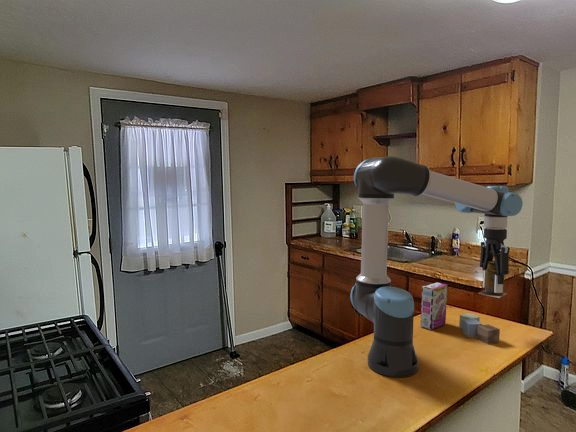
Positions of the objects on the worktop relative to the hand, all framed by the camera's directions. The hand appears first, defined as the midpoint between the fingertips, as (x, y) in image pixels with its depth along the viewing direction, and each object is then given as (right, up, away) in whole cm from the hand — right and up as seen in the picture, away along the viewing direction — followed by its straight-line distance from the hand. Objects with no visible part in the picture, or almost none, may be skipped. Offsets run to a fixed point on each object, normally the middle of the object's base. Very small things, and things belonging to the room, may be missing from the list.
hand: (492, 289), depth 144 cm
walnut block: (-4, -17, -5) cm, 19 cm away
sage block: (-5, -16, +7) cm, 19 cm away
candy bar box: (-18, -16, +10) cm, 26 cm away
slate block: (-7, -17, +1) cm, 19 cm away
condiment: (0, -2, 0) cm, 2 cm away
